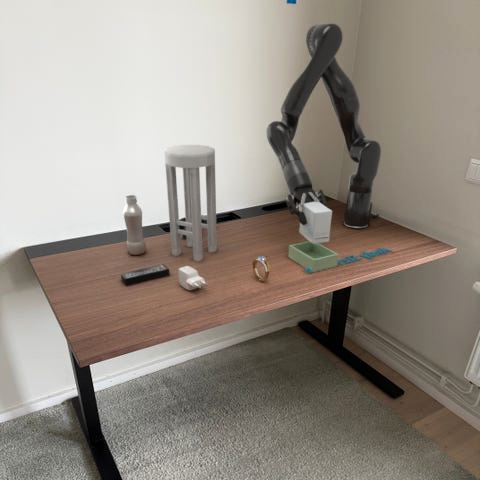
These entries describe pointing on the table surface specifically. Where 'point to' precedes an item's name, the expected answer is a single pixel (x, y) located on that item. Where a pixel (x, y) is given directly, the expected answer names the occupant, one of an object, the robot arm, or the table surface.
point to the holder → (313, 256)
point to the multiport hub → (145, 274)
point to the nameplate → (366, 255)
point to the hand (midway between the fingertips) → (314, 222)
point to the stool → (191, 196)
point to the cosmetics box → (316, 222)
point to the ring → (266, 266)
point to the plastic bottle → (134, 226)
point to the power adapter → (190, 278)
